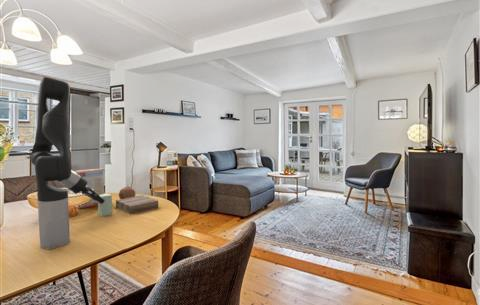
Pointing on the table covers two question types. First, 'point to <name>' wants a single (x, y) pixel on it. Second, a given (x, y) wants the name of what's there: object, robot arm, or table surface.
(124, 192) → the onion
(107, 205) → the sage block
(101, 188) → the cracker box
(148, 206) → the walnut base
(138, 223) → the table surface
